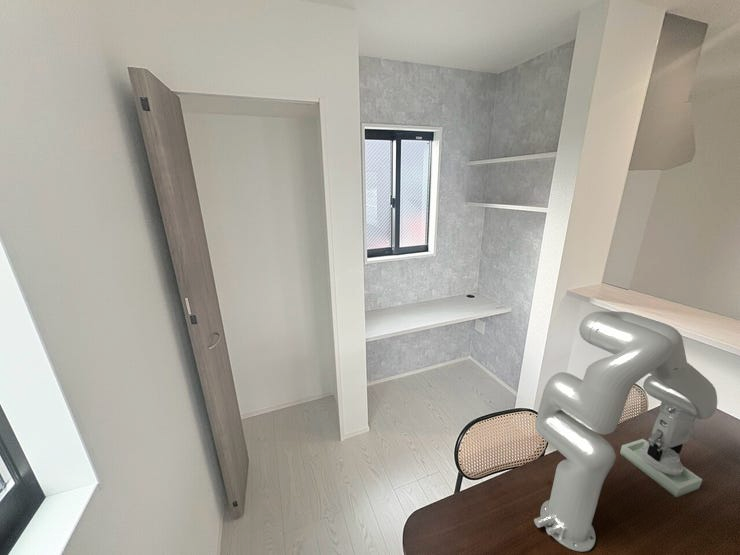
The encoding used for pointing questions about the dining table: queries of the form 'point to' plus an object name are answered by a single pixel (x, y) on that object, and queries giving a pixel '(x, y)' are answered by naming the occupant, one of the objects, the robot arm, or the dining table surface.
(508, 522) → the dining table surface
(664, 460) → the mechanical component
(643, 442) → the tray
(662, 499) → the dining table surface
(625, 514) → the dining table surface
